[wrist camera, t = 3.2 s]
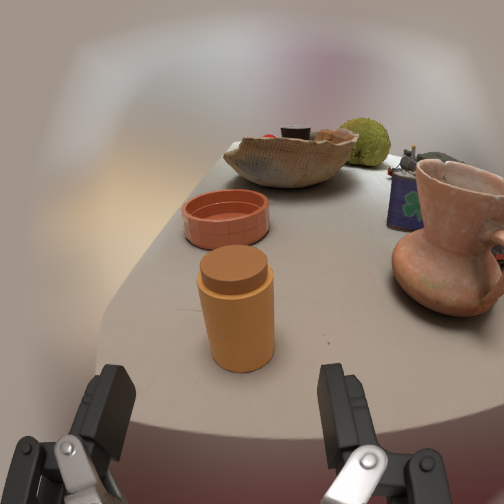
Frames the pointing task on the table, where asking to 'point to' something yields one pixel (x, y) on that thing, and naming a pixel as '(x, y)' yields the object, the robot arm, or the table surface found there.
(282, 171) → the ceramic bowl
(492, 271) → the ceramic jug
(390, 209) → the flask
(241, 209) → the terracotta bowl
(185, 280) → the table surface
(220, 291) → the orange lidded canister
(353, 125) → the fruit
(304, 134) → the coffee mug
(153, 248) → the table surface
